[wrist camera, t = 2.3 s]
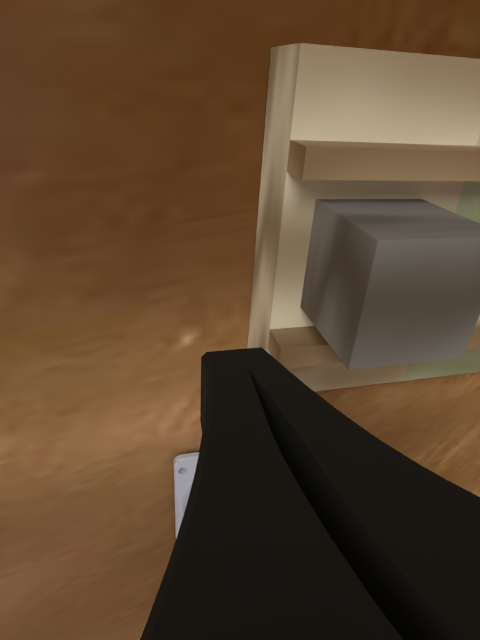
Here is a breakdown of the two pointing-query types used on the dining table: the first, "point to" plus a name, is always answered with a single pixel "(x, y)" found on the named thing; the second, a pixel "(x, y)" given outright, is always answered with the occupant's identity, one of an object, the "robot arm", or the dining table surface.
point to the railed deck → (355, 180)
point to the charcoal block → (392, 280)
